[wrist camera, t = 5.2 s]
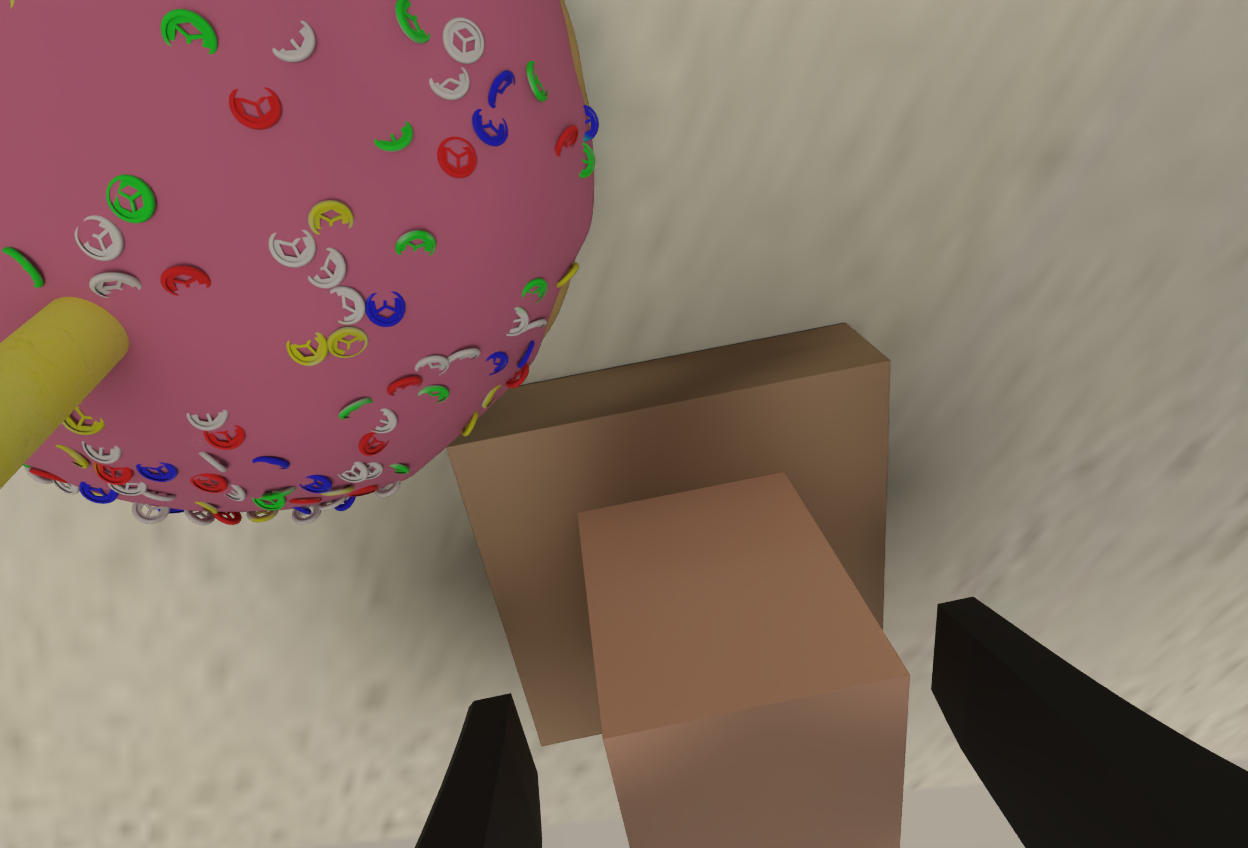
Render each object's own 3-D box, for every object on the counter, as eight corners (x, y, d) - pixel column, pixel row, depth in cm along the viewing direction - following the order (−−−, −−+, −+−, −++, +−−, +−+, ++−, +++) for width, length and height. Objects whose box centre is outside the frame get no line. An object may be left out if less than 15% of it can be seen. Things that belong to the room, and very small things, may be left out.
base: (845, 323, 14) (890, 360, 13) (847, 614, 18) (881, 674, 16) (455, 398, 14) (446, 447, 12) (540, 678, 18) (541, 746, 16)
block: (792, 625, 15) (899, 855, 11) (610, 663, 15) (645, 911, 11) (783, 471, 13) (909, 674, 9) (577, 512, 13) (603, 739, 9)
